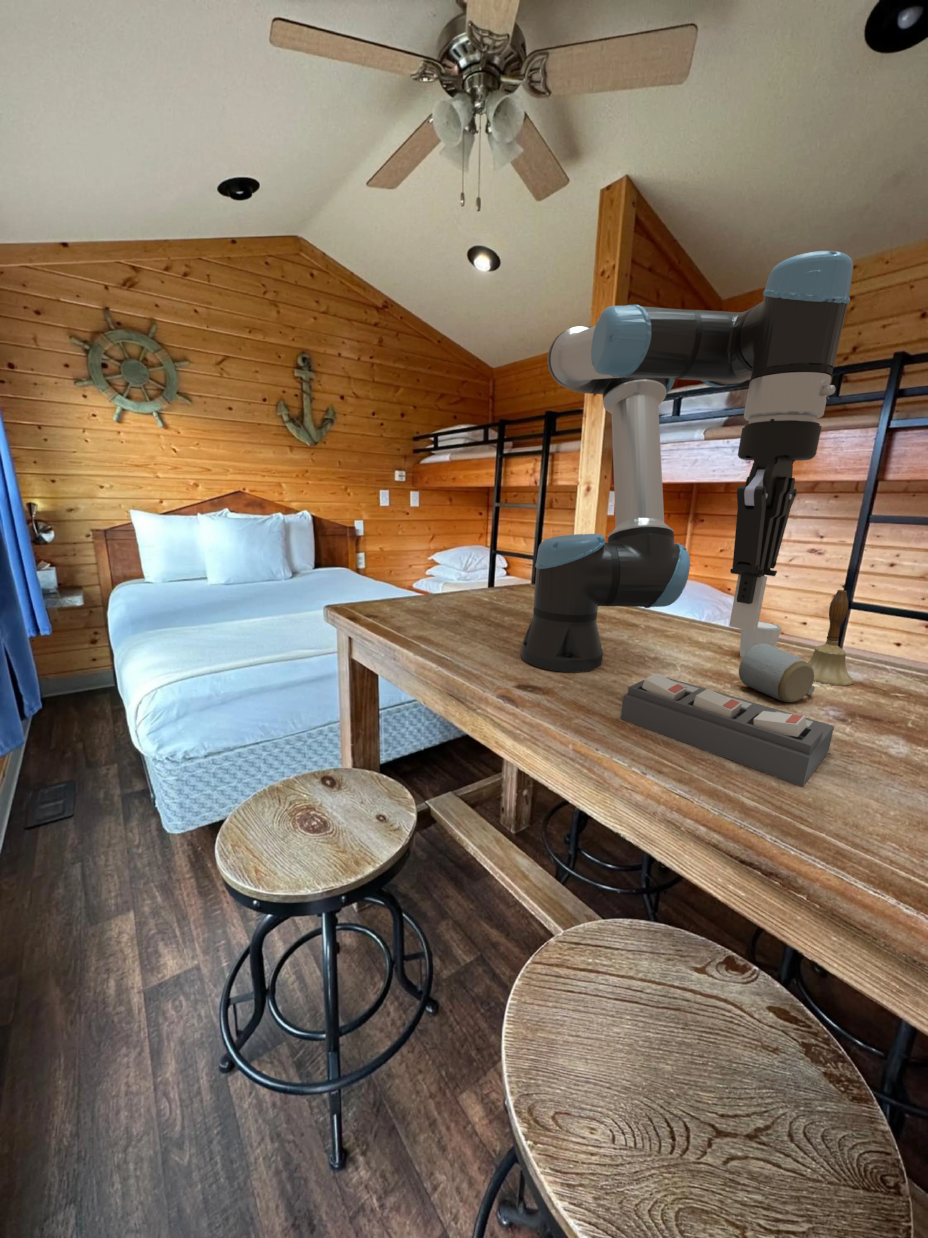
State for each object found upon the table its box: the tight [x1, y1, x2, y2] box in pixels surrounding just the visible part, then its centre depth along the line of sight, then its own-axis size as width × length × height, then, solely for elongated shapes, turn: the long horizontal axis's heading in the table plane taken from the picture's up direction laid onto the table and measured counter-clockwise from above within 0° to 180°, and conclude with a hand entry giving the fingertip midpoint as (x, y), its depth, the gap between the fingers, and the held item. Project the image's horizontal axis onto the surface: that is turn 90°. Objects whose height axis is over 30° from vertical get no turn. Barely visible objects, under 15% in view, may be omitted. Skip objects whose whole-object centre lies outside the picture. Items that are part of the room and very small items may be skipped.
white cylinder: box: [739, 620, 782, 657], centre depth 98 cm, size 7×7×7 cm
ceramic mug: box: [738, 643, 816, 703], centre depth 80 cm, size 11×8×8 cm
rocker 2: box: [753, 711, 807, 737], centre depth 58 cm, size 4×4×2 cm
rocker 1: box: [642, 673, 687, 701], centre depth 68 cm, size 4×4×2 cm
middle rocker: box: [693, 688, 742, 718], centre depth 63 cm, size 4×4×2 cm
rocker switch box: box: [620, 676, 835, 788], centre depth 66 cm, size 22×12×5 cm, turn 43°
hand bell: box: [807, 589, 854, 687], centre depth 88 cm, size 8×8×16 cm
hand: (742, 627), depth 61 cm, fingers closed
